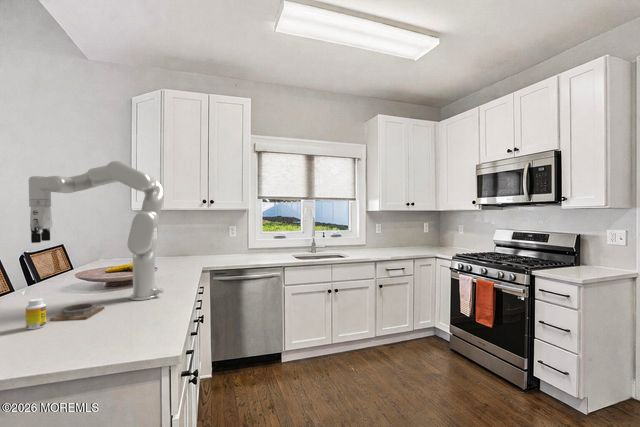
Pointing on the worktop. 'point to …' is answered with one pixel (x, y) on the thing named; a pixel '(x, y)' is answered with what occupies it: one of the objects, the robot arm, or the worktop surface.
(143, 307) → the worktop surface
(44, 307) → the supplement bottle
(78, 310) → the rosette collar
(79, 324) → the worktop surface
